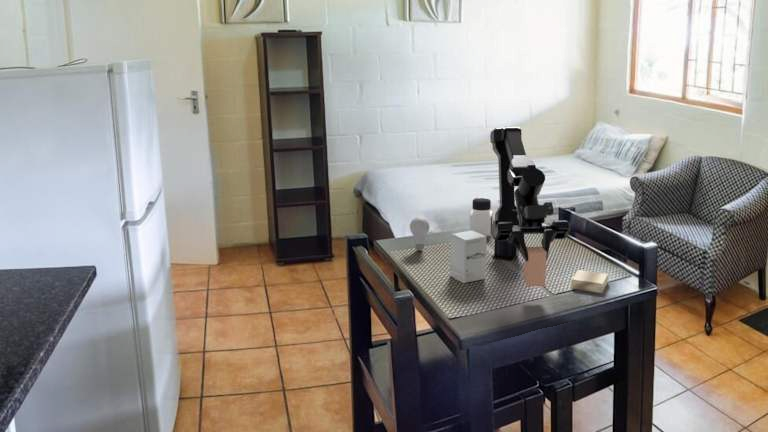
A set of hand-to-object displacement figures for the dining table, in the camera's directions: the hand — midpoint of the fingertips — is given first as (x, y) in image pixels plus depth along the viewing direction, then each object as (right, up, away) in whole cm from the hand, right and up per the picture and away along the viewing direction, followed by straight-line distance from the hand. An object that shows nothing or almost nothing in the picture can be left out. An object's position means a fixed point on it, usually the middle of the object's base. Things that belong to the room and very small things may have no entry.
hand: (536, 260), depth 178 cm
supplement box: (-15, -6, +21) cm, 26 cm away
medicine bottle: (-6, +5, +61) cm, 62 cm away
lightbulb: (-27, 0, +44) cm, 52 cm away
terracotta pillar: (0, -6, +3) cm, 7 cm away
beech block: (+17, -8, +13) cm, 23 cm away
